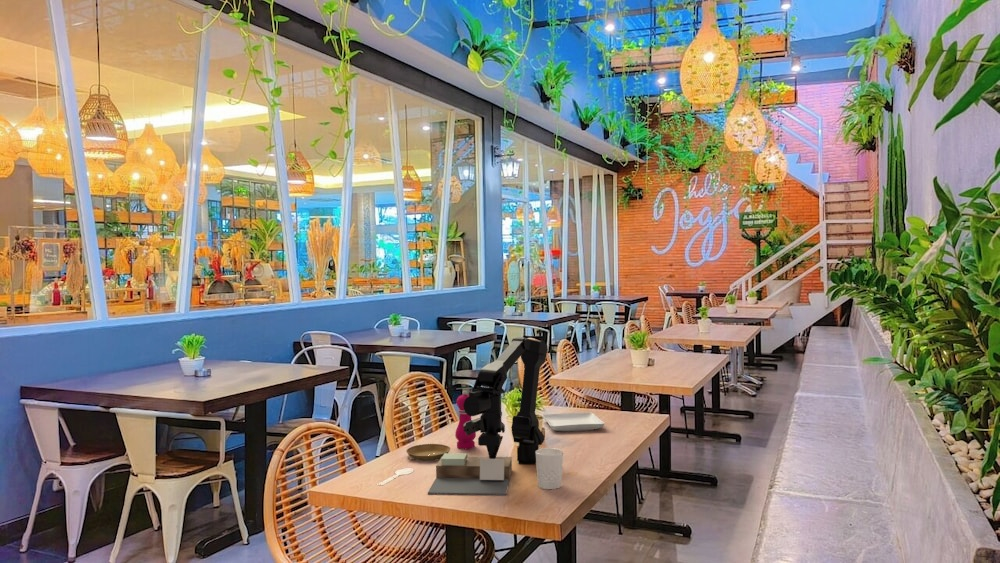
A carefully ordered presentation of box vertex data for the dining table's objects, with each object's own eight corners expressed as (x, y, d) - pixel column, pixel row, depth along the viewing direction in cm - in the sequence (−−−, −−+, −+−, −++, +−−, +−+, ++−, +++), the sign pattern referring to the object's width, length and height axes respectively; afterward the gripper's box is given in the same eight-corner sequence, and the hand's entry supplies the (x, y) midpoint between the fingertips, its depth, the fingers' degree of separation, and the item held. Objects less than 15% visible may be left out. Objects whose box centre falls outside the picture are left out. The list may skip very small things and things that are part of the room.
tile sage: (467, 459, 211) (467, 453, 211) (464, 465, 205) (464, 458, 205) (444, 459, 211) (444, 453, 211) (441, 465, 205) (441, 458, 205)
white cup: (555, 492, 192) (555, 456, 192) (531, 487, 196) (530, 453, 196) (568, 484, 199) (567, 450, 198) (544, 480, 203) (543, 446, 202)
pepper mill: (452, 448, 239) (451, 391, 238) (460, 443, 245) (459, 388, 245) (470, 450, 236) (469, 392, 236) (479, 445, 243) (478, 389, 242)
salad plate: (541, 421, 279) (541, 413, 279) (592, 419, 281) (592, 411, 281) (550, 434, 258) (550, 425, 258) (605, 432, 260) (605, 423, 260)
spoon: (370, 485, 201) (370, 483, 201) (403, 468, 218) (403, 466, 218) (386, 487, 199) (386, 485, 199) (418, 470, 215) (418, 468, 215)
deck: (511, 469, 213) (511, 457, 213) (509, 479, 203) (509, 466, 203) (442, 469, 215) (441, 456, 215) (436, 479, 205) (436, 465, 205)
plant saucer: (434, 465, 220) (434, 457, 220) (397, 460, 227) (397, 452, 227) (458, 454, 233) (458, 446, 233) (423, 449, 240) (423, 441, 240)
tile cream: (504, 459, 203) (503, 458, 201) (504, 480, 201) (503, 480, 199) (481, 459, 204) (480, 458, 202) (480, 480, 202) (479, 479, 200)
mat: (509, 480, 203) (509, 478, 203) (505, 495, 190) (505, 493, 190) (436, 479, 205) (436, 477, 205) (427, 494, 192) (427, 492, 192)
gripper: (469, 403, 215) (469, 453, 215) (460, 416, 196) (461, 470, 196) (504, 403, 213) (505, 453, 214) (499, 417, 195) (499, 471, 195)
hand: (492, 462), depth 205 cm, fingers closed
